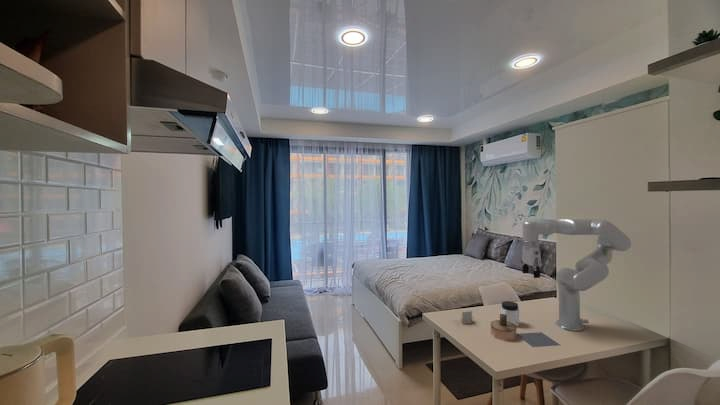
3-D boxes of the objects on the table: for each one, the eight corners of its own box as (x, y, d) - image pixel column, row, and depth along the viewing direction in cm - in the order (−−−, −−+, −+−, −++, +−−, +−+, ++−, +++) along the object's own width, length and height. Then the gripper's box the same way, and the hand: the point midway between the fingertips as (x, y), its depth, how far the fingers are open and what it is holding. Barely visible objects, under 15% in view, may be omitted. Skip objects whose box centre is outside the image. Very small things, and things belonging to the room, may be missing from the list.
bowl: (508, 331, 164) (507, 321, 163) (520, 340, 153) (520, 330, 152) (487, 332, 163) (487, 323, 163) (498, 342, 152) (498, 332, 152)
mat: (541, 333, 160) (541, 332, 160) (560, 346, 146) (560, 345, 146) (515, 334, 159) (515, 333, 159) (532, 348, 145) (532, 346, 145)
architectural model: (459, 322, 177) (459, 309, 177) (471, 321, 178) (470, 309, 178) (462, 325, 174) (462, 312, 174) (474, 324, 175) (473, 311, 175)
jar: (512, 329, 165) (512, 307, 165) (498, 324, 172) (498, 303, 172) (521, 325, 170) (521, 303, 170) (507, 320, 177) (507, 299, 177)
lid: (508, 321, 164) (507, 310, 164) (521, 331, 152) (521, 319, 152) (486, 322, 163) (486, 311, 163) (498, 332, 151) (498, 320, 151)
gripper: (548, 246, 159) (548, 279, 159) (527, 241, 176) (527, 271, 176) (534, 246, 158) (534, 279, 159) (514, 241, 176) (515, 271, 176)
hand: (531, 275), depth 168 cm, fingers open, 9 cm apart
